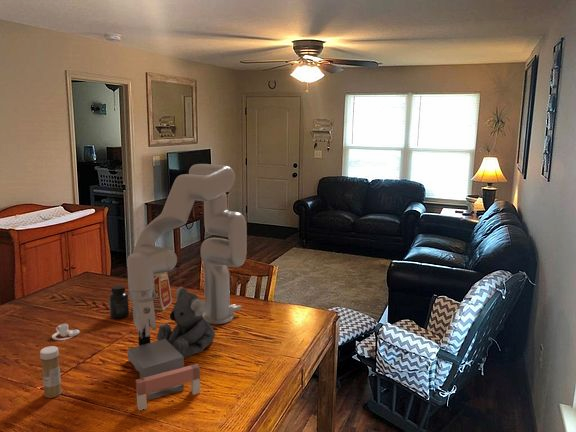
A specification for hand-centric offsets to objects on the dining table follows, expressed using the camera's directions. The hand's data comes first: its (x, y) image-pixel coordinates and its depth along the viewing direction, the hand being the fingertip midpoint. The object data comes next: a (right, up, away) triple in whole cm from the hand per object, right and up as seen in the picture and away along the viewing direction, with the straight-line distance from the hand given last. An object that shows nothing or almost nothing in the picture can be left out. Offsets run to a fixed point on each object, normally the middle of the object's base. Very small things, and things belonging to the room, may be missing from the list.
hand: (144, 348), depth 151 cm
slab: (+5, -2, -7) cm, 9 cm away
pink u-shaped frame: (+12, -9, -19) cm, 24 cm away
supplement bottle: (-20, +2, +35) cm, 41 cm away
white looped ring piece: (-32, -2, +17) cm, 36 cm away
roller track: (+4, -6, -6) cm, 10 cm away
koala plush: (+11, -3, +13) cm, 17 cm away
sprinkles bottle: (-21, -8, -17) cm, 28 cm away
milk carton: (-8, +5, +47) cm, 48 cm away
